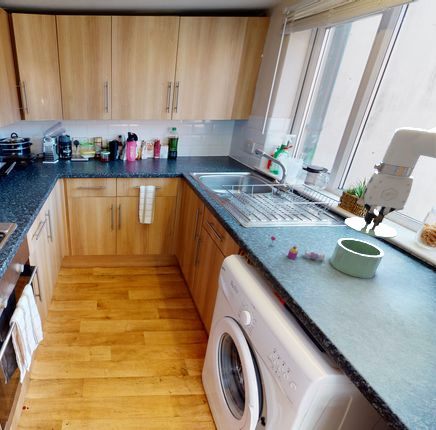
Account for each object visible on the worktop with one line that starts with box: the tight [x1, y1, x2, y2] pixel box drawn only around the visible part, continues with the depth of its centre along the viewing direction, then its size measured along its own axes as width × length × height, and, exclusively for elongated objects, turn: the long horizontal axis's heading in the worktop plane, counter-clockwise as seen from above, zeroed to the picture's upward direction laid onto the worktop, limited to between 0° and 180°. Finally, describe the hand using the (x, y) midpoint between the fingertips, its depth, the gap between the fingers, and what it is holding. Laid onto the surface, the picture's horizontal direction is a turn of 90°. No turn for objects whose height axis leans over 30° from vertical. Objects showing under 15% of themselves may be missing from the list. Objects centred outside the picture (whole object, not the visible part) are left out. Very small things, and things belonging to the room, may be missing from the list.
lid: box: [344, 208, 398, 239], centre depth 95 cm, size 14×14×6 cm
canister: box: [329, 237, 385, 279], centre depth 102 cm, size 13×13×8 cm
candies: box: [270, 235, 325, 262], centre depth 109 cm, size 18×8×6 cm, turn 62°
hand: (371, 223), depth 95 cm, fingers closed on lid, 1 cm apart
